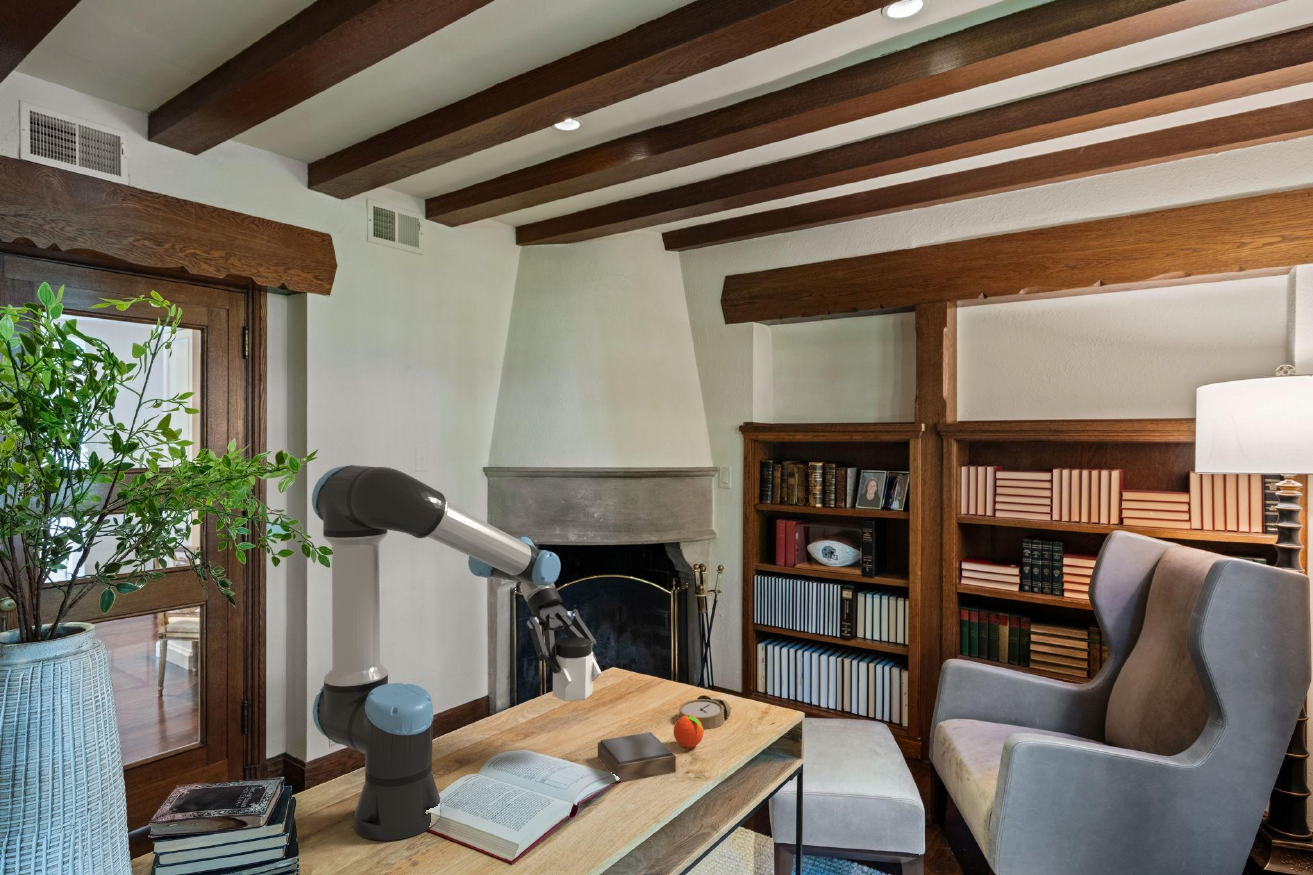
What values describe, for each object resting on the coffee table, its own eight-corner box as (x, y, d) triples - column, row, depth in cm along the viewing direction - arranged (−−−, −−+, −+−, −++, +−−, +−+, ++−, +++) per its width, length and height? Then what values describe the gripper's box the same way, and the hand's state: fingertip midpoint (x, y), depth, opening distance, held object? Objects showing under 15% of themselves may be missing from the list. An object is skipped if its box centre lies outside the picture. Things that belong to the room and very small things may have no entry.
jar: (589, 687, 171) (589, 635, 171) (595, 699, 163) (596, 645, 163) (550, 690, 169) (551, 637, 169) (555, 702, 161) (555, 647, 161)
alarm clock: (669, 711, 184) (704, 685, 196) (671, 729, 185) (705, 703, 197) (706, 722, 177) (739, 695, 189) (708, 741, 178) (741, 713, 189)
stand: (618, 782, 151) (618, 763, 151) (597, 757, 163) (597, 739, 163) (675, 772, 156) (675, 753, 156) (651, 748, 168) (651, 730, 168)
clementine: (713, 748, 169) (713, 716, 169) (692, 756, 164) (692, 724, 164) (687, 737, 175) (687, 707, 175) (667, 746, 170) (667, 715, 170)
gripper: (568, 598, 184) (610, 679, 173) (497, 611, 170) (537, 699, 158) (582, 580, 180) (625, 661, 169) (510, 591, 166) (552, 681, 154)
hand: (582, 680), depth 163 cm, fingers closed on jar, 8 cm apart
